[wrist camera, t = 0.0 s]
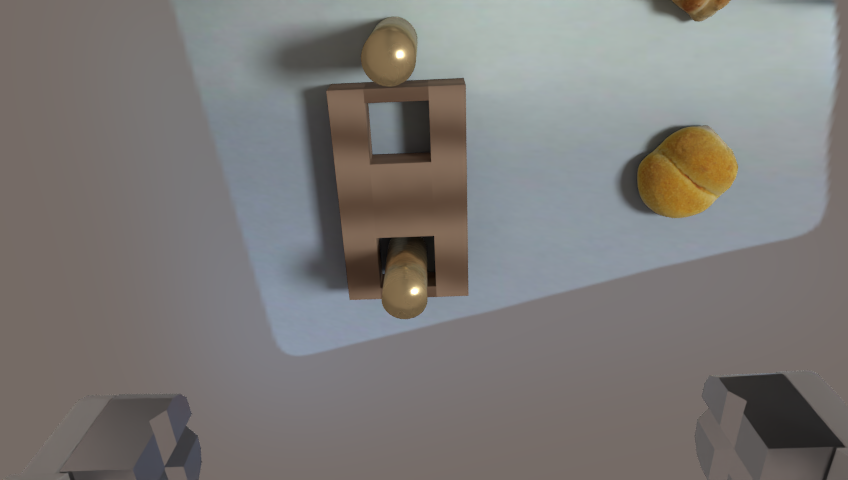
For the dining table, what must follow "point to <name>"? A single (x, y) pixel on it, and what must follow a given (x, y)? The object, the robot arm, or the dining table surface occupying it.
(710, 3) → the pastry
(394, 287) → the seated billet
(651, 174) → the bread roll
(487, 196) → the dining table surface
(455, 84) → the wooden socket block
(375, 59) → the loose billet
